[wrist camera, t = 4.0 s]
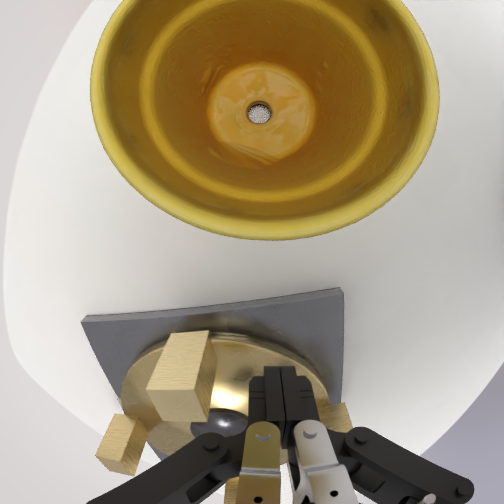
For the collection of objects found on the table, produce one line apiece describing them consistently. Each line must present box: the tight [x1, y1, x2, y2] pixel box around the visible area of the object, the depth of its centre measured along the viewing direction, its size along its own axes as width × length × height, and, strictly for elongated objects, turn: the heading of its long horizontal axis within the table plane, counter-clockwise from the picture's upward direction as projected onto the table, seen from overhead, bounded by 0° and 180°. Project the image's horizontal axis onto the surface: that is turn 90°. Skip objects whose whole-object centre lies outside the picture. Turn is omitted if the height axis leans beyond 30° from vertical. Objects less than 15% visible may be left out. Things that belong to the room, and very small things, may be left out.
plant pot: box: [90, 0, 439, 241], centre depth 10 cm, size 10×10×10 cm
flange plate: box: [81, 287, 344, 460], centre depth 20 cm, size 19×19×1 cm
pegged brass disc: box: [95, 330, 353, 504], centre depth 17 cm, size 19×19×6 cm
